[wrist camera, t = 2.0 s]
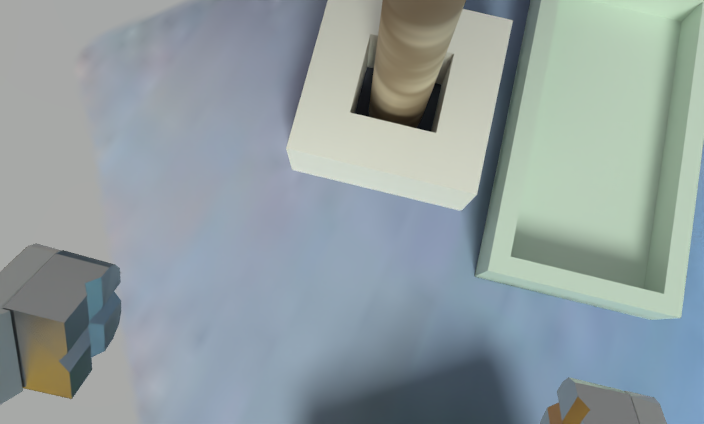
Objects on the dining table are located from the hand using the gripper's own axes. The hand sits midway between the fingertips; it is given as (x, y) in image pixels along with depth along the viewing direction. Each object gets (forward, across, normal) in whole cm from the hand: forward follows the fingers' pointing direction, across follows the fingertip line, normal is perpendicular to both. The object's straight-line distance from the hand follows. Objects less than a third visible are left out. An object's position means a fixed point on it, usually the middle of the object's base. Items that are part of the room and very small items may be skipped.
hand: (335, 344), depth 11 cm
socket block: (+26, 0, +6) cm, 26 cm away
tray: (+26, -12, +5) cm, 29 cm away
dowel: (+26, 0, +6) cm, 26 cm away
